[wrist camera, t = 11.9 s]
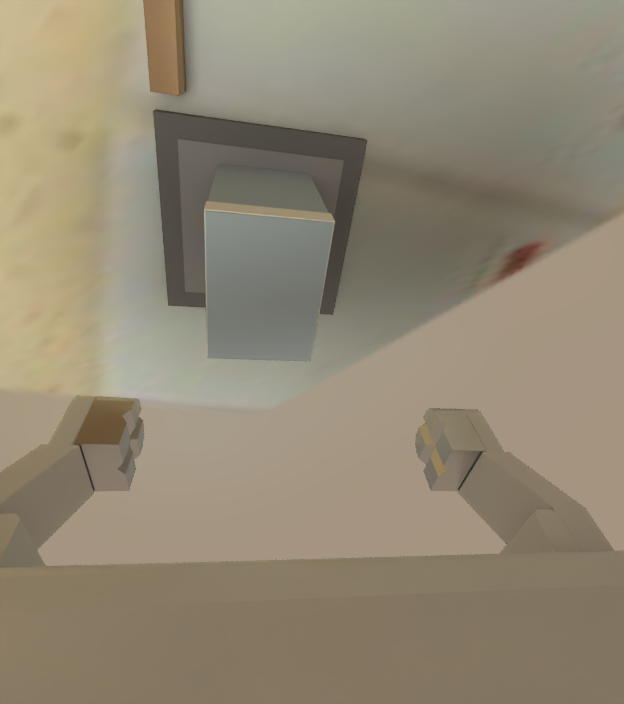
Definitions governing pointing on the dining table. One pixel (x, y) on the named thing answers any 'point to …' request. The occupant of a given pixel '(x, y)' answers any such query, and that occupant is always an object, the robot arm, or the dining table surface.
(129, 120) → the dining table surface
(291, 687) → the robot arm
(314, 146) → the mat
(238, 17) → the dining table surface
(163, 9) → the wooden stand
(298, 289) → the block
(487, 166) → the dining table surface
